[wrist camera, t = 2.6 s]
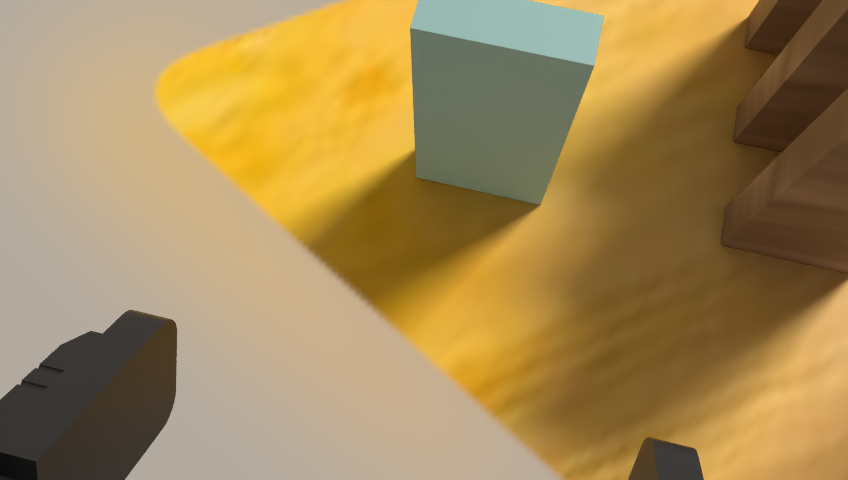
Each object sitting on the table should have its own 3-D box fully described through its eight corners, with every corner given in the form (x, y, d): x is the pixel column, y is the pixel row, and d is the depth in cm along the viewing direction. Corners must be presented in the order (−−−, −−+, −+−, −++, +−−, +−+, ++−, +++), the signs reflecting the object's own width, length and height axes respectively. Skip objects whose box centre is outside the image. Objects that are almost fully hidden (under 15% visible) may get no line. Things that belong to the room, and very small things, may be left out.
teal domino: (540, 205, 29) (593, 65, 20) (416, 177, 30) (410, 27, 20) (548, 168, 30) (604, 15, 20) (425, 141, 30) (424, -21, 21)
